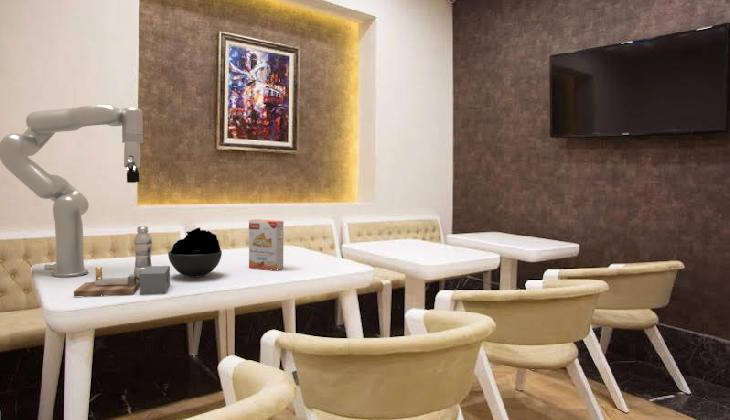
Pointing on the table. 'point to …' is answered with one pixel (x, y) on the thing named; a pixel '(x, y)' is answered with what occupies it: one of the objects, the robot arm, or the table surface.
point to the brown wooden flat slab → (109, 288)
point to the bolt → (108, 279)
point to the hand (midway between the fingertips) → (133, 182)
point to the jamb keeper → (154, 280)
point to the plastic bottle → (142, 250)
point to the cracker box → (265, 244)
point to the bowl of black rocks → (196, 253)
